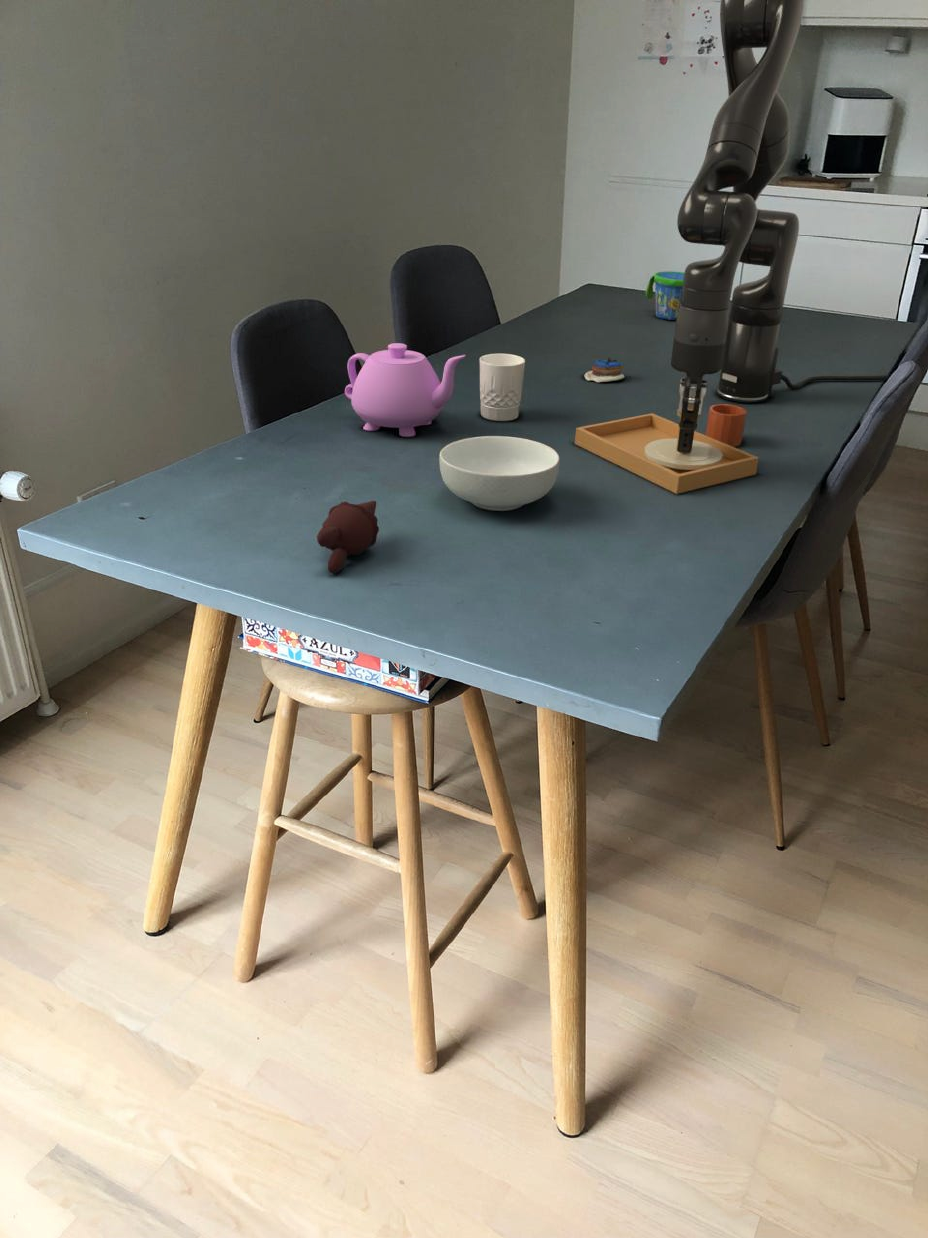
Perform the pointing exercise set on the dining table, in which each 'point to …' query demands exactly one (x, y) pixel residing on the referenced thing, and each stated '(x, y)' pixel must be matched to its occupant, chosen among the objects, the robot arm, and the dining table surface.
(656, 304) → the snack cup
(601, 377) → the dessert
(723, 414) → the terracotta cup
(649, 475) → the serving tray
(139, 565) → the dining table surface
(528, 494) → the cereal bowl
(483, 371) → the white cup
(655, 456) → the round base post stand
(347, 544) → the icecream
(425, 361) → the teapot
